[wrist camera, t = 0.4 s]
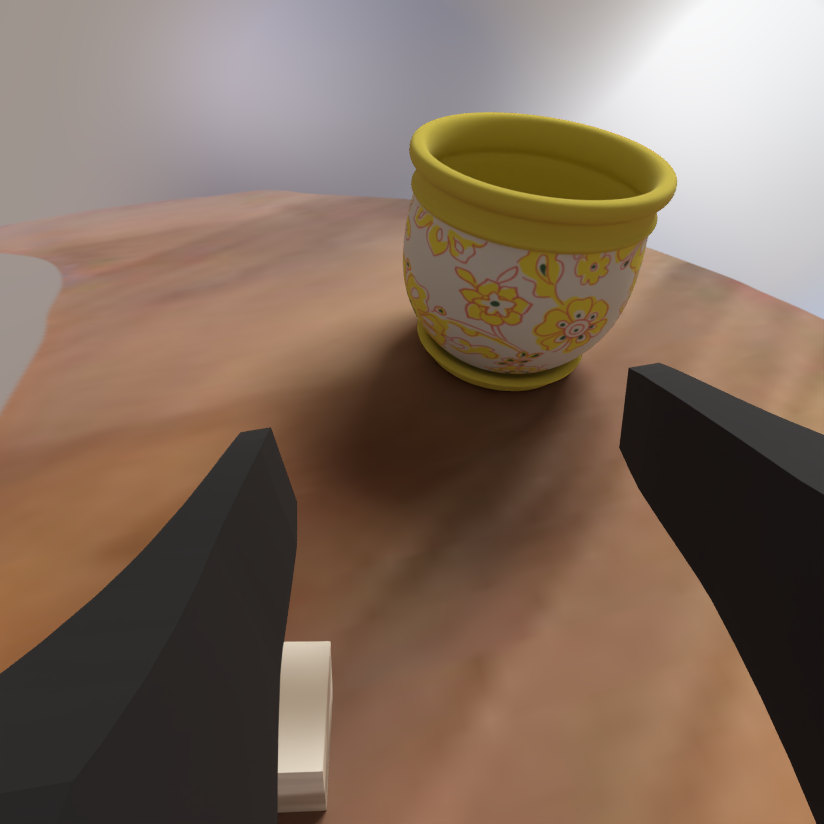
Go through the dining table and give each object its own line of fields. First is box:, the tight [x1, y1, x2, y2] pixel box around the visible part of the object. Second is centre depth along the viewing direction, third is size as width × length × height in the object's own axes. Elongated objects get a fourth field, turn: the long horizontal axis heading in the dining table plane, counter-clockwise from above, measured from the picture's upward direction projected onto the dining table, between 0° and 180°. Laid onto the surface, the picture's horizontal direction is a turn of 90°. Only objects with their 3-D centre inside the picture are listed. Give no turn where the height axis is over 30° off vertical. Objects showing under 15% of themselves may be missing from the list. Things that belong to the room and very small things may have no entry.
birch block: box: [278, 641, 333, 813], centre depth 22 cm, size 4×4×6 cm
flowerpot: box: [403, 112, 677, 391], centre depth 42 cm, size 18×18×16 cm
